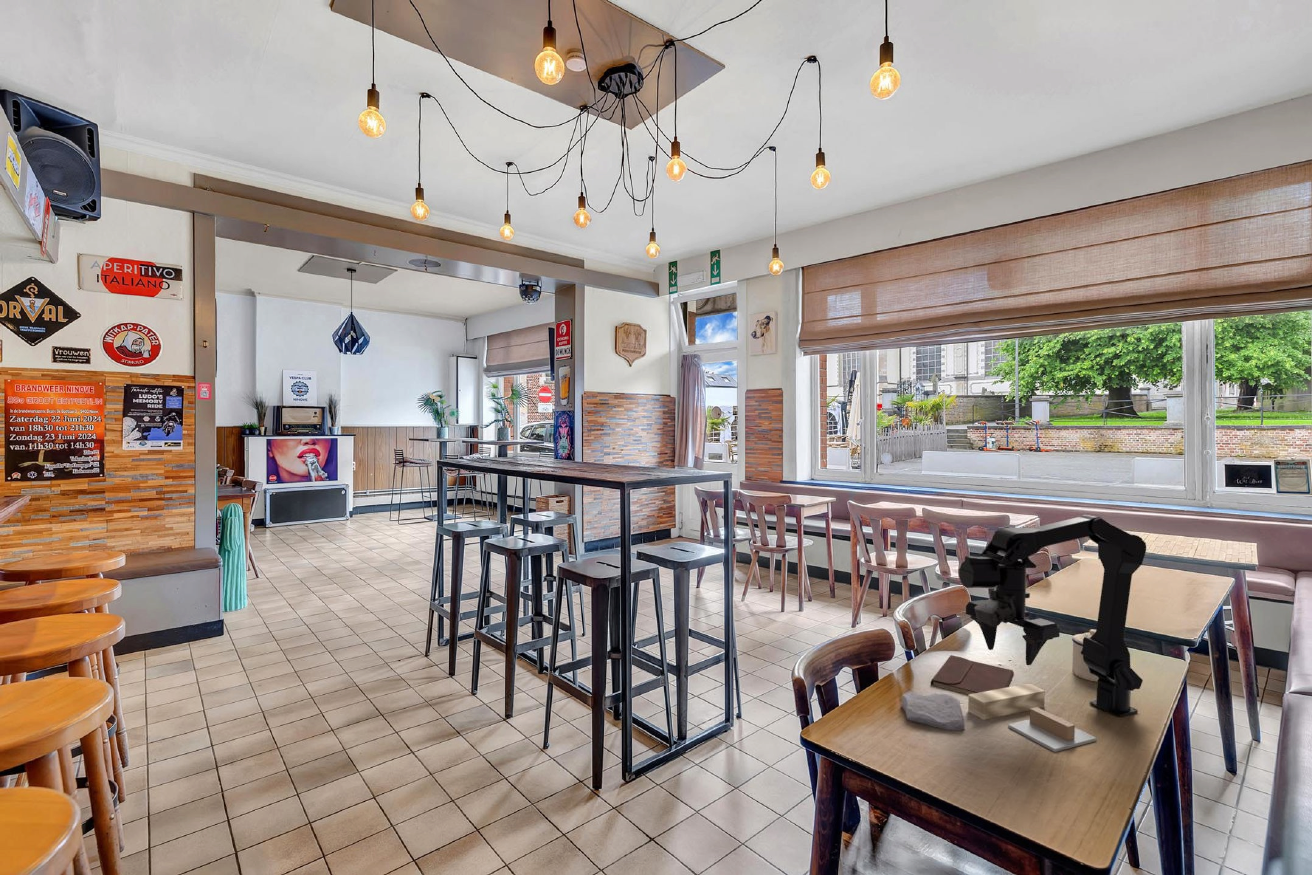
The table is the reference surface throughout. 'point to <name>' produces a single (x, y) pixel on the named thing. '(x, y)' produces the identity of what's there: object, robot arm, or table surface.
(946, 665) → the notebook
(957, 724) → the stone block
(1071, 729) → the fulcrum stand
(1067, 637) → the table surface
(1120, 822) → the table surface
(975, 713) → the beech bar
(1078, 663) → the teacup with lid
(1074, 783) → the table surface
